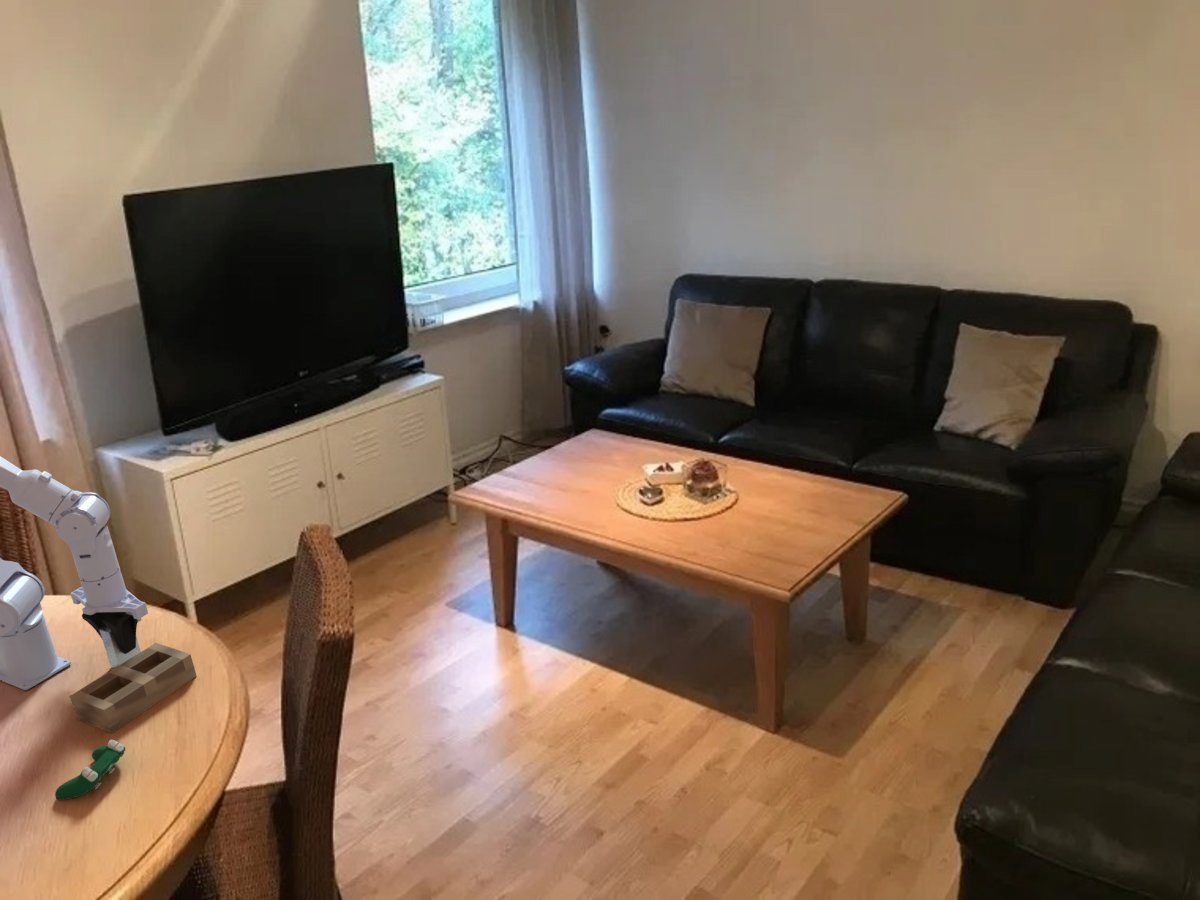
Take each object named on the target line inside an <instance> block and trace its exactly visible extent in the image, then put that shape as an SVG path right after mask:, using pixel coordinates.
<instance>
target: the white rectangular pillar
mask: <svg viewBox="0 0 1200 900" xmlns="http://www.w3.org/2000/svg"><path fill="white" fill-rule="evenodd" d="M141 621H142V617H141V618H140V619H138V622H137V624H138V623H140V622H141ZM99 630H100V633H101V637H102V638H101V637H100V638H101V640H102V643H103V646H104V649H105V652H106V655H107V659H108V662H109V665H110V668H111V669H113V668H116V667H118V666H119V665H121V664H122V663H124V662H126V661H127V660H129V659H130V658H132V657H134V656H135V655H137V654H139V653H140V652H142V651H141V648H140V644H139V641H138V638H137V637H136V648H135V649H133V650H132V651H130V652H129V653H127V654H124V653H122V651H121V650H120V648H119V646H118V643H117V641H116V639H115V637H114V635H113V633H112V632H111V630H110V629H109V628H108V627H107V626H105V627H103V628H101V629H99Z"/></svg>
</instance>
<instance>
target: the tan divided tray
mask: <svg viewBox="0 0 1200 900" xmlns="http://www.w3.org/2000/svg"><path fill="white" fill-rule="evenodd" d="M194 665H195V664H194V662H193V659H192V655H191V653H188V652H185V651H181V650H179V649H176V648H172V647H170V646H167V645H164V644H161V643H158V642H155V643H154V644H151V645H150V646H149V647H146V648H145V649H144V650H142V651H141V652H140V653H139V654H137V655H135V656H134V657H132V658H130V659H129V660H127V661H126V662H124V663H122V664H121V665H119V666H118V667H116V668H114V669H113V668H112V669H111V670H110V671H108V672H106V673H105V674H103V675H101V676H100V677H98V678H97V679H95V680H93V681H91V682H90V683H88V684H86V686H83V687H82V688H80V689H79V690H77V691H76V692H74V693H72V694H70V695H69V699H70V702H71V705H72V708H73V711H74V714H75V717H76V719H77V720H78V721H81V722H83V723H85V724H88V725H89V726H90V725H91V726H93V727H96V728H98V729H100V730H102V731H105V732H108V733H110V734H113V733H114V732H116V731H118V730H119V729H121V728H122V727H124V726H125V725H126V724H128V723H129V722H131V721H132V720H134V719H135V718H137V717H138V716H139V715H141V714H143V713H145V712H146V711H148V710H149V709H151V708H152V707H153V706H155V705H157V704H158V703H159V702H161V701H162V700H164V699H165V698H168V696H170V695H171V694H173V693H174V692H176V691H177V690H179V689H180V688H182V687H183V686H185V685H186V684H188V683H189V682H191V681H192V680H193V679H195V678H196V677H197V673H196V670H195V666H194Z"/></svg>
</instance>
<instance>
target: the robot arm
mask: <svg viewBox="0 0 1200 900" xmlns="http://www.w3.org/2000/svg"><path fill="white" fill-rule="evenodd" d="M52 477H53V475H52V474H51V473H49V472H48V471H46V470H43V472H42V471H40V470H39V469H28V470H26V469H25V470H22V469H21V468H20V467H18V466H16V465H15V464H13V463H12V462H10V461H9V460H7V459H5V458H4V457H2V456H1V455H0V488H2V489H4V490H7V492H8V494H9V497H10V501H11V502H12V503H13V504H15V505H16V506H18V507H20V508H22V509H24V510H25V511H27V512H29V513H31V514H33V515H35V516H36V517H38V518H40V519H42V520H44V521H45V522H47V523H48V524H50V525H52V526H54V527H56V528H55V529H54V530H55V533H56V535H57V536H58V538H59V539H60V540H62V541H63V542H65V544H67V546H68V547H69V551H70V553H71V555H72V558H73V561H74V565H75V567H76V571H77V574H78V578H79V582H80V585H81V586H80V587H78V588H77V589H75V590H74V591H71V592H70V596H71V599H72V603H73V604H75V605H80V604H82V606H83V608H82V614H81V617H82V619H83V620H84V621H85V622H86V623H87V624H89V625H90V626H91V627H92V628H93V629H94V630H95V632H96V633H97V634H98V636H99V637H100V638H101V639H102V637H101V633H100V630H99V629H101V628H103V627H105V626H107V627H108V628H109V629H110V630H111V632H112V633H113V635H114V637H115V639H116V641H117V643H118V646H119V648H120V650H121V651H122V653H124V654H127V653H129V652H130V651H132V650H133V649H135V648H136V638H137V626H138V623H139V622H138V619H140V618H141V619H142V618H143V617H145V616H146V615H148V614H149V610H148V607H147V603H146V602H145V601H141V600H140V599H138V598H137V597H136V596H135V595H134V594H132V593H131V592H130V591H129V590H128V589H127V587H126V584H125V580H124V578H123V575H122V571H121V567H120V564H119V561H118V557H117V554H116V549H115V547H114V542H113V540H112V537H111V532H110V530H109V527H108V525H107V523H108V521H109V520H110V517H111V507H110V505H109V504H108V502H107V501H106V500H105V499H104V498H103V497H102V496H100V495H99V494H98V493H96V492H91V491H88V492H87V491H86V492H81V491H79V490H74V489H72V488H70V487H69V486H67V485H65V484H63V483H62V482H59V481H58V480H56V479H54V478H52ZM45 590H46V588H45V586H44V584H43V582H42V581H41V580H40V578H38V577H37V576H36V575H35V574H32V573H30V572H28V571H27V570H25V569H24V567H22V565H20V563H19V562H15V561H11V560H3V559H2V558H1V557H0V681H1V680H2V681H1V682H3V683H6V684H9V685H11V686H13V687H16V688H19V689H20V690H23V691H28V690H30V689H32V688H33V687H34V686H37V685H38V684H40V683H41V682H43V681H45V680H47V679H48V678H50V677H52V676H53V675H55V674H57V673H58V672H60V671H62V670H63V669H65V668H66V667H68V666H70V665H71V664H72V661H71V660H69V659H66V658H63V657H62V656H58V655H57V653H56V652H57V651H56V650H55V645H54V644H53V640H52V637H51V633H50V631H49V629H48V625H47V622H46V619H45V615H44V613H43V608H42V603H41V602H42V601H43V600H44V598H45V592H46V591H45ZM137 622H138V623H137Z"/></svg>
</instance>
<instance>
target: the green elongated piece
mask: <svg viewBox="0 0 1200 900" xmlns="http://www.w3.org/2000/svg"><path fill="white" fill-rule="evenodd" d="M125 752H126V747H125V745H123V744H122V743H121V742H118V741H116V740H114V739H110V740H108V742H107V744H106V745H101V746H99V747H96V748H95V749H94V750H93V751H92V753H91V758H92V759H93V760H94V762H95V763H94V764H93V765H92V766H91V767H88V766H84V767H82V771H81V773H80V774H79V775H77V776H75V777H73V778H72V779H69V780H67V781H64V783H62V784H61V785H59V786H58V787H57V788H56V790H55V793H54V794H55V795H54V796H55V799H56V800H70V799H73V798H77V797H79V796H82V795H84V794H87V793H88V792H91V791H92V790H93V789H94V790H97V789H98V788H99V787H100V786H101V785H102V781H101V780H102V778H103V777H104V776H105V775H106V774H107V775H110V774H112V773H113V771H115V769H116V768H115V767H114V765H115V764H116V763H117V762H119V761H120V758H122V757H123V756H124V755H125Z"/></svg>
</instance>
